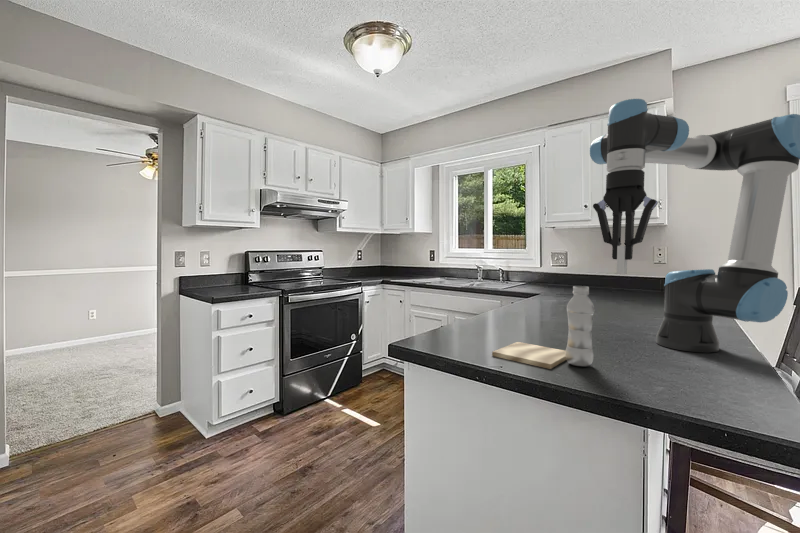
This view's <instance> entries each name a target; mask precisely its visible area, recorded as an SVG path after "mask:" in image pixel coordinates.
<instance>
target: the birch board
mask: <svg viewBox="0 0 800 533" xmlns="http://www.w3.org/2000/svg"><path fill="white" fill-rule="evenodd" d="M565 352H566V349H558V348H552V347H549V346H542V345H537V344H531V343H526V342H522V341H521V342H520V341H516V342H513V343H511V344H507V345H506V346H503V347H500V348H498V349H496V350H492V352H491V353H492V354H491V356H492V357H495V358H500V359H503V360H509V361H513V362H518V363H522V364H527V365H531V366H534V367H540V368H544V369H548V370H551V369H553V368H555V367H557V366H558V365H560V364H562V363H563V362H565V361H567V360H566V355H565Z"/></svg>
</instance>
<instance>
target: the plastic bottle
mask: <svg viewBox="0 0 800 533" xmlns="http://www.w3.org/2000/svg"><path fill="white" fill-rule="evenodd" d="M572 294H573V296H572V297H571V299H570V300H569V301H568V302H567V305H566V315H567V324H568V332H567V333H568V335H567V343H566V344H567V345H566V348H565V351H566V352H565V355H566V360H565V361H567V363H568V364H570V365H572V366H575V367H590V366H591V365H592V364H593V361H594V357H595V356H594V350H593V340H592V339H593V338H592V333H593V332H592V329H593V321H594V315H595V314H594V313H595V309H596V308H595V306H594V302H592V300H591V299H590V297H589V295H590V287H589V286H586V285H583V286H582V285H573V286H572Z"/></svg>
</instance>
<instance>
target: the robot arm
mask: <svg viewBox="0 0 800 533" xmlns="http://www.w3.org/2000/svg"><path fill="white" fill-rule="evenodd" d="M648 111H649V109H648V103H647V101H646V100H645V99H642V98H628V99H625V100H621V101H618V102H617V103H614V104H613V105H611V107H610V108H609V111H608V118H607V133H606V134H603V135H601V136H600V137H597V138H596V139H594V140H593V141H592V142H591V144H590V145H589V146H590V147H589V156H590V158H591V161H592V162H594V163H595V164H597V165H605V164H606V172H608V173H607V174H606V180H605V181H606V182H605V193H604V195H603V199H602V200H600V201H599V202H597V203H595V202H594V203H593V205H592V208H593V209H594V210H595V212H596V214H597V218H598V222H599V226H600V230H601V235H602V240H603V242H604V243H606V244H609V245H611V246H612V247H611V248H612V251H611V252H612V253H611V255H612V256H611V257H612V260H616V273H615V274H616V275H627V274H628V260H630V261H631V260H633V250H634V245H636V244H639V243H640V244H641V243H642V242H643V240H644V237H645V234H646V231H647V228H648V225H649V222H650V218H651V215H652V213H653V210H654V209H655V207H656V206H657V205H658V203H659V202H658V200H656V199H653V198H652V197H651V198H650V197H648V195H647V193H646V191H645V175H646V174H645V171H644V168H646V164H659V165H660V164H661V165H675V166H677V165H678V166H685V167H686V168H688V169H691V170H704V171H705V170H707V171H723V172H724V171H735V170H736V171H737V173H739V175H741V176H742V182H741V187H740V193H739V198H738V203H737V207H736V208H737V209H736V215H735V218H734V225H733V229H732V237H731V240H730V245H729V246H730V247H729V252H728V256H727V260H726V262H724V263H723V264H721V265H719V267H718V270H717V274H716V272H715V269H710V268H709V269H708V268H707V269H705V268H703V269H692V270H691V269H688V270H687V269H686V270H673V271H669V272H668V273H667V274H666V275H665V279H664V284H663V286H664V289H663V290H664V296H663V297H664V298H663V300H664V301H663V302H664V303H663V319H662V322H661V323H660V326H659V329H658V331H657V333H656V335H655V343H656V344H658V345H660V346H661V347H665V348H669V349H672V350H673V349H674V350H678V351H683V352H693V353H704V354H705V353H717V352H719V351H720V341H719V338H718V334H717V332H716V330H715V327H714V324H713V319H714V317H718V318H719V317H720V318H725V319H732V320H737V321H742V322H746V323H747V322H752V323H767V322H770V321H772V320H774V319H775V318H776V317H778V316H779V315H780V313H781V312H782V311H783V309H784V308H785V306H786V303H787V300H788V294H789V293H788V292H789V291H788V290H787V288H788V287H787V284H786V283H785V281H784V280H782V279H780V278H779V272H778V271H777V269H776V268H774V267H773V265H772V264H773V258H774V255H775V254H774V252H775V248H776V242H777V238H778V231H779V226H780V221H781V217H782V210H783V205H784V200H785V194H786V190H787V184H788V178H789V176H790V175H791V174H793V173H794V172H796V171H797V170H798V169H799V165H800V114H798V113H791V114H786V115H782V116H774V117H773V118H769V119H765V120H761V121H759V122H755V123H751V124H748V125H743V126H740V127H737V128H736V127H735V128H732V129H728V130H724V131H721V132H717V133H712V134H709V135H708V134H707V135H706V134H699V135H695V136H694V137H689V134H690V127H689V124H688V122H687V121H686V120H684V119H682V118H678V117H675V116H673V115H672V116H671V115H661V114H660V115H659V114H654V113H653V114H652V113H651V112H648ZM642 203H643V205H642V206H643V207H644V208H643V210H642V213H641V215H640V220H639V223H638V225H637V229H636V232H635V231H634V230H635V216H636V210H637V209H638V208H639V207H640V206H641V204H642ZM606 205H607V206H608V208H609V210H611V211H612V231H611V230H610V225H609V221H608V217H607V212H606V211H605V210H606V208H607V206H606ZM623 213H624V214H625V225H624V226H625V227H624V228H625V229H624V242H623V244H624V245H622V218H623ZM611 232H612V234H611Z"/></svg>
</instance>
